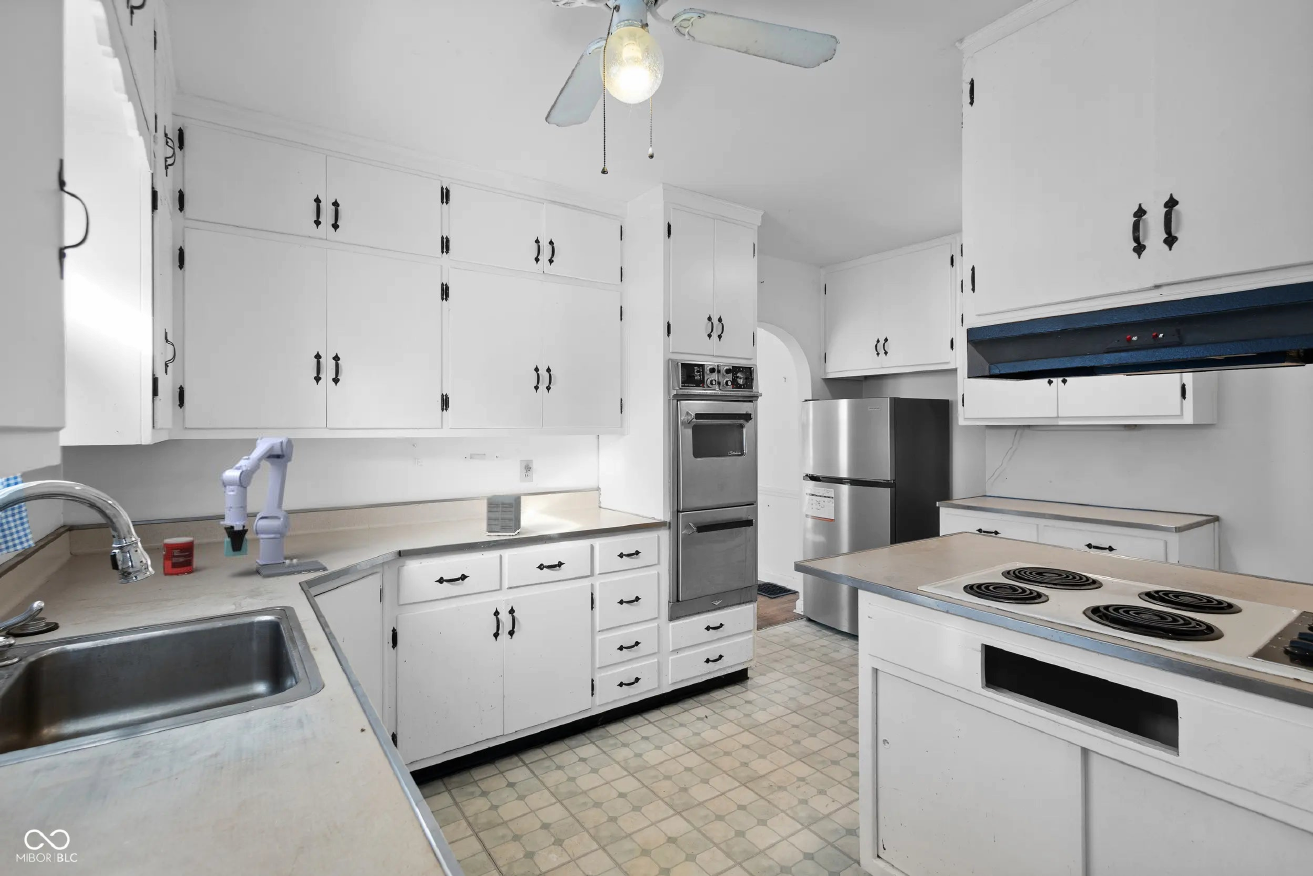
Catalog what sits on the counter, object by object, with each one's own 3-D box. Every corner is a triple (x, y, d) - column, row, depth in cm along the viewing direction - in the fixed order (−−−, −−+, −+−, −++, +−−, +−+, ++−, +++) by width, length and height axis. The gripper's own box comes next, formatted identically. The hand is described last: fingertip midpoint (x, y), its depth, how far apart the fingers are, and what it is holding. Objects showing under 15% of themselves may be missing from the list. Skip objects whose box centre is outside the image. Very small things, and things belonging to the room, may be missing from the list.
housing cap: (223, 554, 195) (224, 538, 195) (244, 552, 198) (245, 536, 198) (225, 557, 191) (225, 540, 191) (247, 554, 194) (247, 539, 194)
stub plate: (256, 570, 203) (256, 559, 203) (317, 563, 215) (317, 553, 215) (262, 578, 193) (263, 566, 193) (326, 570, 204) (326, 559, 204)
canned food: (176, 570, 202) (176, 537, 202) (199, 571, 202) (200, 537, 202) (156, 575, 194) (156, 541, 194) (180, 576, 194) (181, 541, 194)
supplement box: (493, 531, 292) (493, 494, 292) (521, 531, 292) (521, 495, 292) (485, 536, 279) (486, 497, 279) (514, 536, 279) (515, 497, 279)
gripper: (218, 505, 197) (218, 547, 197) (222, 510, 186) (222, 555, 186) (244, 504, 202) (244, 545, 202) (250, 508, 191) (250, 552, 191)
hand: (235, 550), depth 195 cm, fingers closed on housing cap, 6 cm apart
